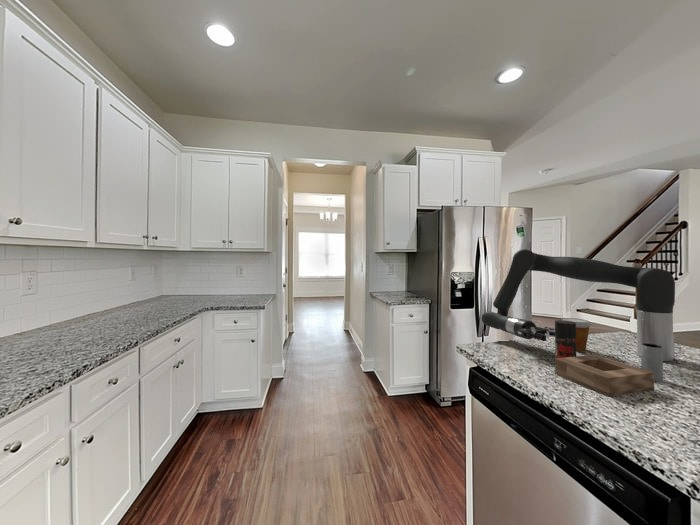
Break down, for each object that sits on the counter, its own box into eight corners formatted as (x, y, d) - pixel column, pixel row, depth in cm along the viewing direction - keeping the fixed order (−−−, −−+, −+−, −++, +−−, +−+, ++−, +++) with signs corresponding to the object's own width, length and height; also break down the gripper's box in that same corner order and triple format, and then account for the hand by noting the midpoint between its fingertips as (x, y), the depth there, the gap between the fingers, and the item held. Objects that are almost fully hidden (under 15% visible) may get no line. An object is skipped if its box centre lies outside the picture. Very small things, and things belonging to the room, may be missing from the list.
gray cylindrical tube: (667, 382, 86) (667, 347, 85) (649, 381, 86) (649, 347, 86) (654, 376, 90) (654, 343, 90) (637, 375, 91) (637, 342, 91)
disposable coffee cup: (578, 353, 112) (578, 323, 112) (555, 346, 121) (555, 318, 121) (597, 351, 114) (597, 321, 114) (573, 344, 124) (573, 317, 123)
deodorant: (551, 361, 104) (550, 320, 104) (566, 361, 104) (566, 320, 104) (564, 368, 98) (564, 324, 98) (580, 367, 98) (580, 323, 98)
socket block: (594, 369, 96) (594, 354, 96) (654, 390, 80) (653, 372, 80) (555, 373, 93) (554, 358, 93) (608, 396, 77) (608, 378, 77)
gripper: (505, 319, 119) (538, 328, 103) (534, 317, 122) (571, 326, 106) (505, 337, 119) (538, 349, 103) (534, 335, 122) (571, 346, 106)
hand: (555, 337), depth 105 cm, fingers open, 8 cm apart
